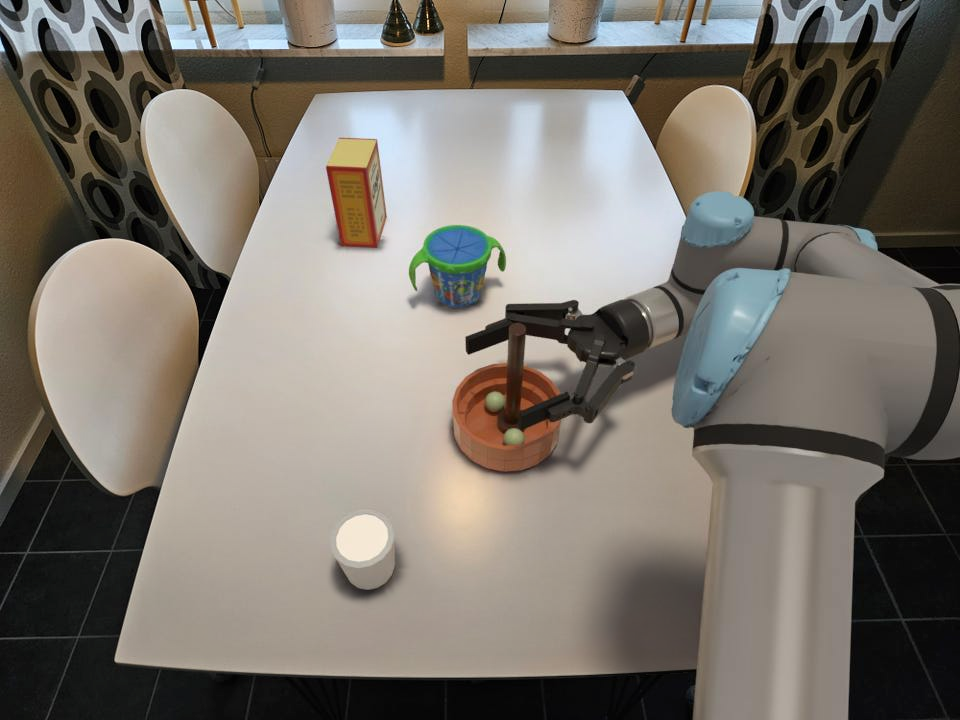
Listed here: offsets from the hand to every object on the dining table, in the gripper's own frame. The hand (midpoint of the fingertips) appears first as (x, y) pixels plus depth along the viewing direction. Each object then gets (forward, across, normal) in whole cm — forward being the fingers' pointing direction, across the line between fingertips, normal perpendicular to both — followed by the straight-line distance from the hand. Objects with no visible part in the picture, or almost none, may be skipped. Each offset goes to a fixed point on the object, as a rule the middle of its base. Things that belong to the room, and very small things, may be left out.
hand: (491, 381), depth 78 cm
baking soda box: (-1, +51, -11) cm, 52 cm away
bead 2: (-2, -3, -9) cm, 10 cm away
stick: (-3, 0, -11) cm, 11 cm away
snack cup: (-9, +28, -11) cm, 31 cm away
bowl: (-2, 0, -11) cm, 11 cm away
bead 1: (-2, +4, -9) cm, 10 cm away
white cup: (+21, -10, -11) cm, 26 cm away
